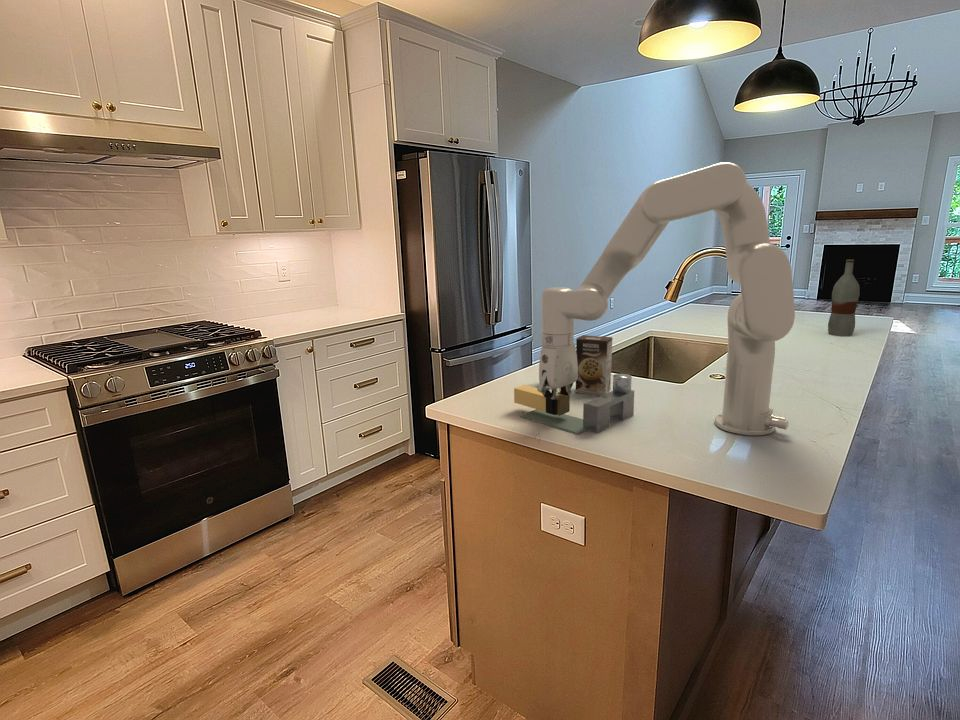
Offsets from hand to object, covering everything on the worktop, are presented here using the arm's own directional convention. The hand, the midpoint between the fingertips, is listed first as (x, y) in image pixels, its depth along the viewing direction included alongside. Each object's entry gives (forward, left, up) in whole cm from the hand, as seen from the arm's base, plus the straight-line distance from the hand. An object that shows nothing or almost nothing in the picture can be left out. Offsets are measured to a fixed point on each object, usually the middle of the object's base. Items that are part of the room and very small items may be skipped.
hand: (557, 410), depth 129 cm
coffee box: (+7, -26, -3) cm, 27 cm away
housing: (-10, -8, -3) cm, 13 cm away
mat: (0, 0, -3) cm, 3 cm away
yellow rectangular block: (+5, 0, 0) cm, 5 cm away
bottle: (-26, -152, -3) cm, 154 cm away
